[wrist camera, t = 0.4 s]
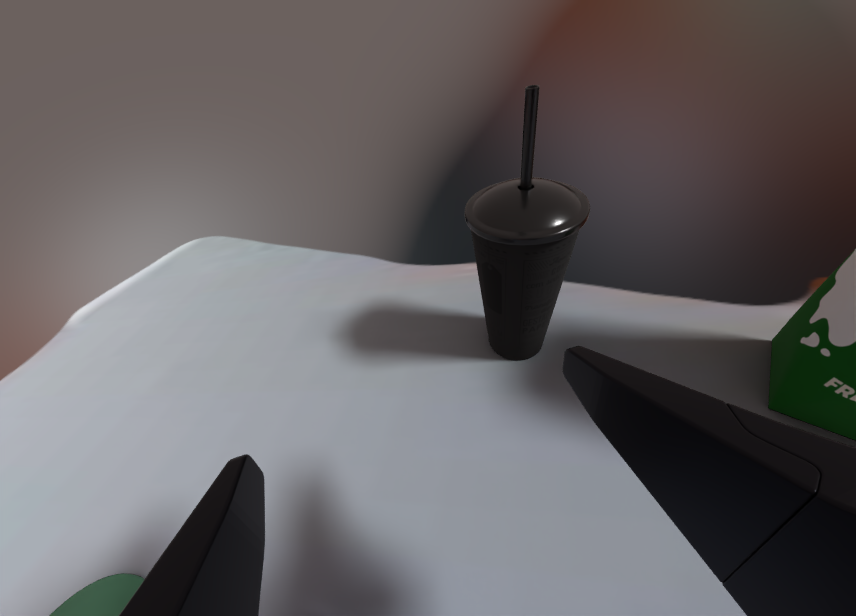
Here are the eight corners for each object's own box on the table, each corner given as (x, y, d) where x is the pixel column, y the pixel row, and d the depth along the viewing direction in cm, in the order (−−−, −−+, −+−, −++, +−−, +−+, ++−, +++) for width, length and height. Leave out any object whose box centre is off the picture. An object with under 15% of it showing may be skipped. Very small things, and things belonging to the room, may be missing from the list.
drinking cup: (566, 374, 27) (644, 94, 13) (474, 374, 28) (452, 120, 14) (552, 309, 32) (595, 60, 18) (474, 311, 33) (459, 81, 19)
